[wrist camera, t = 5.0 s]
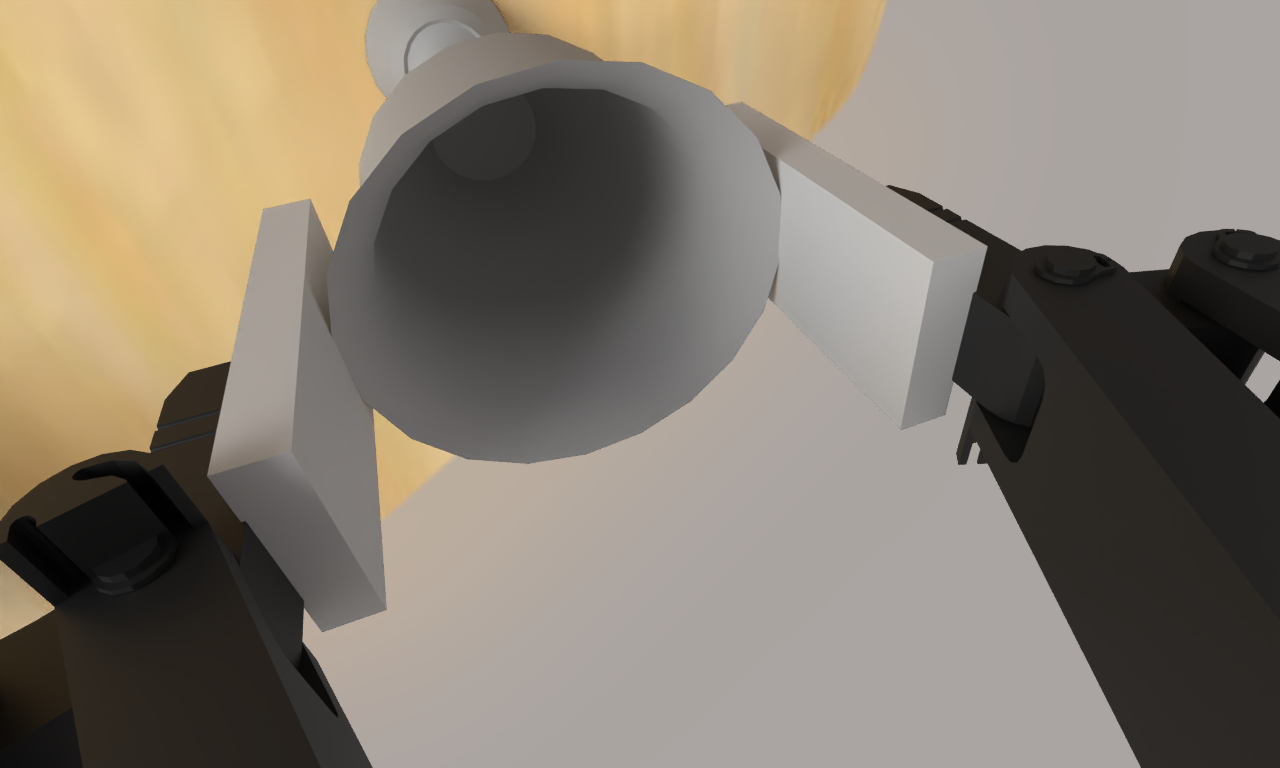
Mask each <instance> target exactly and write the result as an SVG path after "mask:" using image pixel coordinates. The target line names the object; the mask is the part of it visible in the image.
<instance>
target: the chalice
mask: <svg viewBox="0 0 1280 768" xmlns="http://www.w3.org/2000/svg"><path fill="white" fill-rule="evenodd" d="M365 41H366V53H367V62H368V65H369V67H370V70H371V72H372V75H373V77H374V80H375V82H376V85H377V86H378V88H379V89H380V90H381V91H382V93H383V94H384V95H385V97H386V98H387V99H386V100H385V102H384V103H383V104H382V106H381V107H380V108H379V110H378V111H377V112H376V114H375V115H374V116H373V119H372V123H371V126H370V129H369V132H368V135H367V139H366V142H365V145H364V148H363V151H362V155H361V158H360V161H359V175H360V188H359V190H358V191H357V192H356V194H355V195H354V196H353V197H352V199H351V200H350V201H349V204H348V208H347V211H346V214H345V217H344V220H343V223H342V227H341V230H340V233H339V236H338V239H337V242H336V246H335V249H334V252H333V255H332V258H331V261H330V264H329V268H328V271H327V274H326V279H327V290H328V301H329V312H330V323H331V334H332V338H333V340H334V342H335V344H336V346H337V348H338V350H339V352H340V354H341V357H342V359H343V361H344V363H345V365H346V368H347V370H348V372H349V374H350V376H351V378H352V381H353V382H354V384H355V386H356V388H357V390H358V391H359V393H360V395H361V397H362V399H363V400H364V401H365V402H366V403H368V404H369V405H370V406H371V407H373V408H374V409H375V410H376V411H378V412H379V413H380V414H381V415H382V416H384V417H385V418H386V419H387V420H389V421H390V422H391V423H392V424H394V425H395V426H396V427H397V428H399V429H400V430H401V431H402V432H404V433H405V434H406V435H407V436H409V437H410V438H411V439H414V440H416V441H419V442H422V443H425V444H427V445H430V446H433V447H436V448H438V449H441V450H444V451H447V452H449V453H452V454H455V455H458V456H460V457H463V458H466V459H472V460H485V461H498V462H499V461H500V462H512V463H527V464H529V463H535V462H541V461H547V460H553V459H560V458H565V457H572V456H578V455H584V454H588V453H591V452H593V451H596V450H599V449H601V448H604V447H606V446H609V445H611V444H614V443H617V442H619V441H622V440H624V439H627V438H630V437H632V436H635V435H637V434H640V433H642V432H644V431H645V430H647V429H648V428H650V427H651V426H653V425H654V424H656V423H658V422H659V421H661V420H662V419H664V418H665V417H667V416H668V415H670V414H672V413H673V412H675V411H676V410H678V409H679V408H681V407H683V406H684V405H686V404H687V403H689V402H690V401H691V400H692V399H693V398H694V397H695V396H697V395H698V394H699V393H700V392H701V391H702V390H703V388H705V387H706V386H707V385H708V384H709V383H710V382H711V381H712V380H713V379H714V378H715V377H716V376H717V375H718V374H719V373H720V372H721V371H722V370H723V369H724V368H725V367H726V366H727V365H728V364H729V363H730V362H731V361H732V360H733V358H734V357H735V355H736V354H737V352H738V351H739V349H740V347H741V346H742V344H743V343H744V341H745V339H746V338H747V336H748V335H749V333H750V332H751V330H752V328H753V327H754V325H755V324H756V322H757V320H758V319H759V317H760V316H761V314H762V313H763V311H764V308H765V305H766V302H767V299H768V296H769V292H770V289H771V286H772V283H773V280H774V276H775V273H776V270H777V267H778V263H779V257H778V248H779V233H780V218H781V195H780V192H779V190H778V187H777V185H776V182H775V180H774V177H773V175H772V172H771V170H770V167H769V165H768V162H767V160H766V157H765V155H764V152H763V150H762V148H761V145H760V143H759V140H758V138H757V137H756V136H755V135H754V134H753V133H752V132H751V131H750V130H749V129H748V128H747V127H746V126H745V125H744V124H743V123H742V122H741V121H740V120H739V119H738V118H737V117H736V116H735V115H734V114H733V113H732V112H731V111H730V110H729V109H728V108H727V107H726V106H725V105H724V104H723V103H722V102H721V101H720V100H719V99H718V98H717V97H716V96H715V95H714V94H713V93H712V92H711V91H710V90H708V89H705V88H703V87H700V86H698V85H695V84H693V83H691V82H688V81H686V80H683V79H681V78H679V77H676V76H674V75H671V74H669V73H666V72H664V71H662V70H659V69H657V68H654V67H652V66H649V65H647V64H645V63H640V62H613V61H603V60H602V59H600V58H599V57H598V56H596V55H595V54H593V53H592V52H589V51H587V50H584V49H582V48H579V47H577V46H574V45H572V44H569V43H567V42H565V41H562V40H560V39H557V38H555V37H552V36H550V35H543V34H523V33H509V31H508V27H507V24H506V22H505V21H504V19H503V17H502V16H501V14H500V12H499V11H498V9H497V7H496V6H495V4H494V3H493V2H492V1H491V0H379V1H378V2H377V4H376V5H375V7H374V8H373V10H372V11H371V14H370V18H369V22H368V27H367V31H366V35H365Z"/></svg>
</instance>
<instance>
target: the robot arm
mask: <svg viewBox="0 0 1280 768" xmlns="http://www.w3.org/2000/svg"><path fill="white" fill-rule="evenodd" d="M726 107H727V108H728V109H729V110H730V111H731V112H732V113H733V114H734V115H735V116H736V117H737V118H738V119H739V120H740V121H741V122H742V123H743V124H744V125H745V126H746V127H747V128H748V129H749V130H750V131H751V132H752V133H753V134H754V135H755V136H756V137H757V138H758V140H759V143H760V145H761V148H762V150H763V152H764V155H765V157H766V160H767V162H768V165H769V167H770V170H771V172H772V175H773V177H774V180H775V182H776V185H777V187H778V190H779V192H780V195H781V218H780V233H779V248H778V257H779V263H778V267H777V270H776V273H775V276H774V280H773V283H772V286H771V289H770V292H769V296H768V298H769V299H770V300H771V301H772V302H773V303H774V304H775V305H776V306H777V307H778V308H779V309H780V310H781V311H782V312H783V313H784V314H785V315H786V316H787V317H788V318H789V319H790V320H791V321H792V322H793V323H794V324H795V325H796V326H797V327H798V328H799V329H800V330H801V331H802V332H803V333H804V334H805V335H806V336H807V337H808V338H809V339H810V340H811V341H812V342H813V343H814V344H815V345H816V346H817V347H818V348H819V349H820V350H821V351H822V352H823V353H824V354H825V355H826V356H827V357H828V358H829V359H830V360H831V361H832V362H833V363H834V364H835V365H836V366H837V367H838V368H839V369H840V370H841V371H842V372H843V373H844V374H845V375H846V376H847V377H848V378H849V379H850V380H851V381H852V382H853V383H854V384H855V385H856V386H857V388H859V389H860V390H861V391H862V393H863V394H864V395H866V397H867V398H869V400H870V401H872V402H873V404H874V405H875V406H876V407H877V408H878V409H879V410H880V411H881V412H883V414H884V415H886V417H887V418H888V419H889V420H890V421H891V422H892V423H893V424H894V425H895V426H896V427H897V428H898V429H899V430H903V429H906V428H909V427H912V426H915V425H917V424H920V423H923V422H926V421H929V420H931V419H935V418H938V417H940V416H943V415H945V414H946V409H947V406H948V402H949V397H950V394H951V389H952V386H953V382H955V383H956V384H957V385H959V386H960V387H961V388H962V389H963V390H965V391H966V392H967V393H968V394H969V395H970V396H972V399H971V402H970V406H969V410H968V413H967V417H966V420H965V424H964V428H963V431H962V435H961V438H960V442H959V445H958V449H957V453H956V454H957V460H958V464H959V465H964V464H966V463H967V460H968V457H969V453H970V450H971V447H972V444H973V443H976V442H977V443H978V445H979V447H980V452H979V456H978V460H977V463H978V464H985V463H988V465H989V467H990V469H991V471H992V473H993V475H994V477H995V479H996V481H997V483H998V485H999V487H1000V489H1001V491H1002V493H1003V495H1004V497H1005V499H1006V501H1007V503H1008V505H1009V507H1010V509H1011V511H1012V513H1013V515H1014V517H1015V519H1016V521H1017V523H1018V525H1019V527H1020V529H1021V531H1022V532H1023V534H1024V537H1025V539H1026V541H1027V542H1028V544H1029V546H1030V548H1031V550H1032V552H1033V554H1034V556H1035V558H1036V560H1037V562H1038V564H1039V566H1040V568H1041V570H1042V572H1043V574H1044V576H1045V578H1046V580H1047V582H1048V584H1049V586H1050V588H1051V590H1052V592H1053V594H1054V596H1055V598H1056V600H1057V602H1058V604H1059V606H1060V608H1061V610H1062V612H1063V614H1064V616H1065V618H1066V619H1067V622H1068V624H1069V626H1070V628H1071V629H1072V632H1073V634H1074V635H1075V638H1076V640H1077V641H1078V644H1079V645H1080V648H1081V650H1082V651H1083V653H1084V655H1085V657H1086V659H1087V661H1088V663H1089V665H1090V667H1091V669H1092V671H1093V673H1094V675H1095V677H1096V679H1097V681H1098V683H1099V685H1100V687H1101V689H1102V691H1103V693H1104V695H1105V697H1106V699H1107V701H1108V703H1109V705H1110V707H1111V709H1112V711H1113V713H1114V715H1115V717H1116V719H1117V721H1118V723H1119V725H1120V727H1121V729H1122V731H1123V733H1124V735H1125V737H1126V738H1127V740H1128V743H1129V744H1130V747H1131V749H1132V750H1133V753H1134V755H1135V757H1136V758H1137V760H1138V762H1139V764H1140V766H1141V768H1280V381H1279V382H1278V384H1277V385H1276V387H1275V388H1274V390H1273V391H1272V393H1271V395H1270V396H1269V397H1268V399H1267V400H1266V401H1265V402H1264V403H1263V402H1262V401H1261V400H1260V399H1259V398H1258V397H1257V396H1255V394H1254V393H1253V392H1252V391H1251V390H1250V389H1249V388H1247V387H1246V386H1245V384H1246V382H1247V381H1248V379H1249V377H1250V376H1251V374H1252V372H1253V371H1254V369H1255V367H1256V366H1257V364H1258V363H1259V361H1260V359H1261V358H1262V356H1263V354H1264V353H1265V352H1266V353H1267V354H1269V355H1271V356H1272V357H1274V358H1276V359H1277V360H1279V361H1280V240H1276V239H1274V238H1271V237H1267V236H1263V235H1258V234H1256V233H1255V232H1252V231H1248V230H1239V229H1237V231H1235V230H1234V229H1221V230H1216V231H1204V232H1198V233H1196V234H1193V235H1190V236H1188V237H1186V238H1185V239H1184V241H1183V242H1182V243H1181V245H1180V247H1179V249H1178V251H1177V254H1176V256H1175V258H1174V260H1173V262H1172V265H1171V267H1170V269H1166V270H1154V271H1143V272H1130V273H1129V272H1128V271H1127V270H1126V269H1125V268H1124V267H1122V266H1121V265H1120V264H1118V263H1117V262H1115V261H1114V260H1112V259H1111V258H1109V257H1107V256H1106V255H1103V254H1100V253H1096V252H1093V251H1090V250H1087V249H1081V248H1076V247H1070V246H1050V245H1049V246H1047V245H1045V246H1040V247H1033V248H1028V249H1025V250H1023V251H1021V250H1019V249H1017V248H1015V247H1014V246H1012V245H1010V244H1008V243H1007V242H1005V241H1003V240H1001V239H999V238H998V237H996V236H994V235H992V234H991V233H988V232H987V231H985V230H984V229H982V228H980V227H978V226H976V225H975V224H973V223H971V222H969V221H968V220H961V217H960V216H959V215H957V214H955V213H953V212H952V211H950V210H948V209H945V210H943V208H942V206H941V205H939V204H938V203H936V202H934V201H932V200H930V199H929V198H927V197H925V196H923V195H921V194H920V193H916V192H913V191H909V190H905V189H901V188H898V187H894V186H891V185H888V186H884V185H882V184H881V183H879V182H877V181H876V180H874V179H872V178H871V177H869V176H867V175H865V174H864V173H862V172H860V171H859V170H857V169H855V168H854V167H852V166H850V165H848V164H847V163H845V162H843V161H841V160H840V159H838V158H836V157H835V156H833V155H831V154H830V153H828V152H826V151H825V150H823V149H821V148H819V147H818V146H816V145H814V144H813V143H811V142H809V141H808V140H806V139H804V138H802V137H801V136H799V135H797V134H796V133H794V132H792V131H791V130H789V129H787V128H785V127H784V126H782V125H780V124H779V123H777V122H775V121H774V120H772V119H770V118H768V117H767V116H765V115H763V114H762V113H760V112H758V111H757V110H755V109H753V108H751V107H750V106H748V105H746V104H745V103H743V102H740V103H735V104H731V105H726ZM332 255H333V250H332V248H331V245H330V243H329V241H328V239H327V236H326V234H325V232H324V229H323V227H322V225H321V222H320V220H319V218H318V215H317V213H316V211H315V208H314V206H313V204H312V202H311V199H307V200H302V201H298V202H293V203H289V204H284V205H280V206H275V207H271V208H266V209H263V212H262V217H261V221H260V226H259V231H258V236H257V241H256V245H255V250H254V255H253V260H252V264H251V269H250V274H249V279H248V283H247V288H246V293H245V298H244V302H243V307H242V312H241V317H240V322H239V326H238V331H237V336H236V341H235V345H234V350H233V355H232V360H231V362H227V363H223V364H219V365H215V366H212V367H208V368H204V369H200V370H197V371H193V372H189V373H188V374H187V375H186V376H185V377H184V379H183V380H182V381H181V382H180V383H179V384H178V385H177V387H176V388H175V389H174V390H173V391H172V392H171V393H170V395H169V396H168V397H167V398H166V399H165V401H164V404H163V408H162V411H161V414H160V417H159V420H158V423H157V428H158V431H155V433H154V436H153V439H152V442H151V445H150V450H151V453H146V452H140V451H134V450H127V451H120V452H114V453H107V454H102V455H99V456H96V457H94V458H91V459H88V460H85V461H83V462H80V463H77V464H75V465H72V466H70V467H68V468H66V469H64V470H63V471H61V472H59V473H57V474H56V475H54V476H52V477H50V478H49V479H47V480H45V481H43V482H42V483H40V484H38V485H37V486H36V487H35V488H34V489H32V490H31V491H30V492H29V493H27V494H26V495H25V496H24V497H23V498H21V499H20V500H19V501H18V502H16V503H15V504H14V505H13V506H12V507H11V508H10V510H9V511H8V512H7V514H6V515H5V516H4V517H3V519H2V520H1V521H0V560H1V561H2V562H4V563H5V564H6V565H7V566H8V567H9V568H10V569H12V570H13V571H14V572H15V573H16V574H17V575H19V576H20V577H21V578H22V579H23V580H24V581H25V582H27V583H28V584H29V585H30V586H31V587H32V588H34V589H35V590H36V591H37V592H38V593H39V594H40V595H42V596H43V597H44V598H45V599H46V600H47V601H49V602H50V603H51V604H52V605H53V606H54V607H55V610H53V611H51V612H50V613H48V614H46V615H45V616H43V617H41V618H40V619H38V620H36V621H35V622H33V623H31V624H29V625H27V626H25V627H23V628H21V629H20V630H18V631H16V632H14V633H12V634H10V635H8V636H7V637H5V638H3V639H1V640H0V768H372V766H371V764H370V762H369V760H368V758H367V756H366V754H365V752H364V750H363V748H362V746H361V744H360V742H359V740H358V739H357V737H356V735H355V733H354V731H353V729H352V727H351V725H350V723H349V722H348V719H347V717H346V715H345V713H344V712H343V710H342V708H341V706H340V704H339V702H338V700H337V699H336V696H335V694H334V692H333V690H332V688H331V687H330V684H329V683H328V681H327V679H326V677H325V675H324V673H323V671H322V669H321V667H320V665H319V663H318V661H317V660H316V658H315V657H314V656H313V654H312V653H311V652H310V651H309V649H308V648H307V647H306V646H305V644H304V643H303V642H302V635H303V613H304V612H303V611H304V608H305V609H306V611H307V612H308V613H309V615H310V616H311V618H312V619H313V620H314V621H315V623H316V624H317V626H318V627H319V628H320V630H321V631H322V632H324V631H327V630H330V629H333V628H336V627H339V626H341V625H344V624H347V623H350V622H353V621H355V620H358V619H361V618H364V617H367V616H370V615H373V614H376V613H379V612H382V611H384V610H386V594H385V579H384V564H383V550H382V536H381V520H380V506H379V491H378V476H377V462H376V447H375V432H374V418H373V407H371V406H370V405H369V404H368V403H366V402H365V401H364V400H363V399H362V397H361V395H360V393H359V391H358V390H357V388H356V386H355V384H354V382H353V381H352V378H351V376H350V374H349V372H348V370H347V368H346V365H345V363H344V361H343V359H342V357H341V354H340V352H339V350H338V348H337V346H336V344H335V342H334V340H333V338H332V334H331V323H330V312H329V301H328V290H327V279H326V274H327V271H328V268H329V264H330V261H331V258H332Z"/></svg>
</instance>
